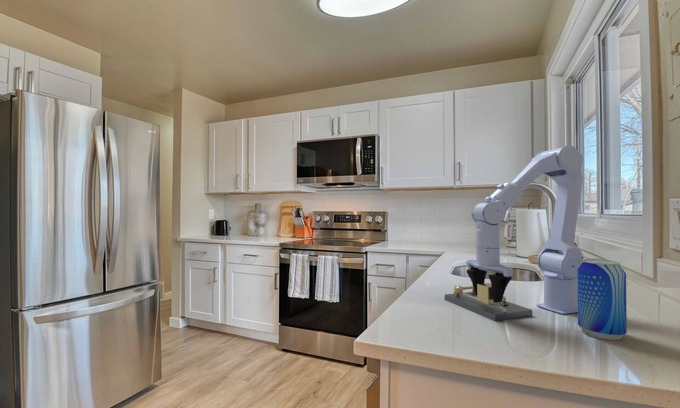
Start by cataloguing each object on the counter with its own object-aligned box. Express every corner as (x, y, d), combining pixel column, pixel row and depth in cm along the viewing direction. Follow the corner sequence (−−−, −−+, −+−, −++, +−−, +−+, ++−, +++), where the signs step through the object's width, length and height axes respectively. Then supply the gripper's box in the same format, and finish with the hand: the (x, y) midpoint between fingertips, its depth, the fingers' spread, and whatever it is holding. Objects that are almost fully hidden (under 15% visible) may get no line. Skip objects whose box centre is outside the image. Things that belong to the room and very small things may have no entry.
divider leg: (499, 301, 91) (499, 281, 91) (511, 305, 87) (511, 285, 88) (477, 303, 89) (477, 283, 89) (488, 307, 85) (488, 287, 85)
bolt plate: (477, 296, 103) (477, 283, 104) (532, 315, 84) (532, 300, 85) (444, 299, 100) (444, 286, 100) (494, 320, 81) (494, 304, 81)
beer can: (568, 327, 76) (568, 258, 76) (601, 326, 77) (600, 257, 77) (601, 342, 68) (600, 264, 68) (637, 340, 69) (636, 264, 69)
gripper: (457, 245, 93) (457, 293, 93) (496, 251, 80) (497, 307, 79) (477, 244, 96) (478, 291, 95) (519, 250, 82) (519, 305, 82)
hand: (488, 298), depth 88 cm, fingers open, 6 cm apart
